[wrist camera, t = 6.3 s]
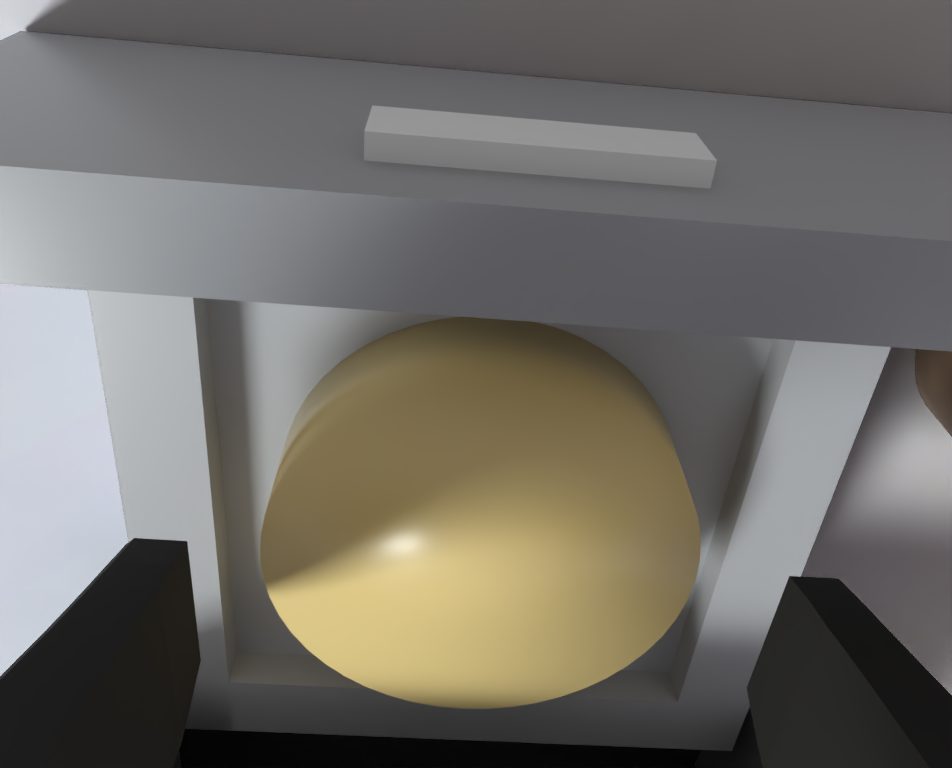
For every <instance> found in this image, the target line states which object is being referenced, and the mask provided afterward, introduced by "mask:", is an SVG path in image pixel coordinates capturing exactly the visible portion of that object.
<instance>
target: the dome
mask: <svg viewBox="0 0 952 768" xmlns="http://www.w3.org/2000/svg"><path fill="white" fill-rule="evenodd" d="M700 550H701V535H700V528H699V520H698V515H697V512H696V509H695V506H694V503H693V500H692V497H691V494H690V491H689V488H688V485H687V482H686V479H685V476H684V473H683V470H682V467H681V464H680V462H679V459H678V456H677V453H676V450H675V447H674V444H673V441H672V438H671V435H670V432H669V429H668V426H667V423H666V421H665V419H664V417H663V415H662V413H661V411H660V409H659V407H658V405H657V403H656V401H655V400H654V398H653V397H652V396H651V394H650V393H649V392H648V390H647V389H646V387H645V386H644V385H643V383H642V382H641V381H640V380H639V379H638V378H637V377H636V376H635V375H634V374H633V373H632V372H631V371H630V370H629V369H628V368H627V367H626V366H625V365H623V364H622V363H621V362H619V361H618V360H617V359H615V358H614V357H613V356H611V355H610V354H609V353H607V352H606V351H605V350H603V349H601V348H599V347H598V346H596V345H594V344H592V343H590V342H589V341H587V340H585V339H583V338H581V337H579V336H576V335H574V334H571V333H569V332H566V331H564V330H561V329H559V328H556V327H552V326H548V325H545V324H541V323H537V322H529V321H515V320H501V319H487V318H473V317H455V318H445V319H439V320H434V321H430V322H425V323H420V324H416V325H412V326H410V327H407V328H404V329H401V330H398V331H395V332H392V333H389V334H387V335H385V336H383V337H381V338H379V339H377V340H375V341H373V342H371V343H369V344H367V345H365V346H363V347H361V348H360V349H358V350H357V351H355V352H354V353H352V354H351V355H349V356H348V357H346V358H345V359H343V360H342V361H341V362H340V363H338V364H337V365H336V366H335V367H334V368H333V369H332V370H331V371H329V372H328V373H327V374H326V375H325V376H324V377H323V378H322V379H321V380H320V381H319V383H318V384H317V385H316V386H315V387H314V388H313V390H312V391H311V392H310V393H309V394H308V396H307V397H306V399H305V400H304V402H303V404H302V405H301V407H300V409H299V410H298V412H297V414H296V415H295V418H294V420H293V423H292V425H291V427H290V430H289V432H288V435H287V438H286V442H285V445H284V449H283V452H282V456H281V459H280V463H279V466H278V470H277V473H276V477H275V480H274V484H273V487H272V491H271V494H270V498H269V502H268V505H267V509H266V512H265V517H264V521H263V526H262V530H261V538H260V560H261V567H262V574H263V579H264V582H265V585H266V588H267V591H268V594H269V597H270V599H271V601H272V603H273V605H274V607H275V609H276V611H277V612H278V614H279V616H280V618H281V619H282V620H283V622H284V623H285V624H286V626H287V627H288V629H289V630H290V631H291V633H292V634H293V635H294V636H295V637H296V638H297V639H298V640H299V641H300V642H301V643H302V644H303V645H304V646H305V648H306V649H307V650H309V651H310V652H311V653H312V654H314V655H315V656H316V657H317V658H319V659H320V660H321V661H322V662H323V663H325V664H326V665H328V666H329V667H331V668H332V669H334V670H336V671H337V672H339V673H340V674H342V675H343V676H345V677H347V678H349V679H351V680H353V681H355V682H357V683H359V684H361V685H363V686H365V687H368V688H370V689H373V690H376V691H378V692H381V693H384V694H386V695H389V696H393V697H396V698H400V699H404V700H407V701H411V702H416V703H421V704H427V705H433V706H439V707H450V708H461V709H491V708H504V707H515V706H521V705H527V704H533V703H538V702H542V701H546V700H550V699H554V698H558V697H562V696H565V695H567V694H570V693H573V692H576V691H579V690H582V689H584V688H587V687H589V686H591V685H593V684H595V683H597V682H600V681H602V680H604V679H606V678H608V677H610V676H611V675H613V674H615V673H616V672H618V671H620V670H621V669H623V668H625V667H626V666H628V665H629V664H631V663H632V662H633V661H635V660H636V659H637V658H639V657H640V656H641V655H643V654H644V653H645V652H646V651H647V650H648V649H650V648H651V647H652V646H653V645H654V644H655V643H656V642H657V641H658V640H659V639H660V638H661V637H662V636H663V635H664V634H665V632H666V631H667V630H668V629H669V627H670V626H671V625H672V624H673V622H674V621H675V620H676V619H677V617H678V615H679V614H680V612H681V610H682V609H683V607H684V605H685V604H686V602H687V600H688V598H689V595H690V593H691V590H692V588H693V585H694V583H695V580H696V576H697V571H698V567H699V562H700Z"/></svg>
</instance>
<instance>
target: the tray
mask: <svg viewBox="0 0 952 768" xmlns="http://www.w3.org/2000/svg"><path fill="white" fill-rule="evenodd" d="M0 284H8V285H22V286H37V287H51V288H65V289H79V290H87V291H88V297H89V303H90V309H91V316H92V322H93V328H94V334H95V340H96V346H97V352H98V358H99V365H100V371H101V377H102V383H103V389H104V395H105V401H106V407H107V414H108V420H109V426H110V432H111V438H112V444H113V450H114V456H115V463H116V469H117V475H118V481H119V487H120V493H121V499H122V505H123V512H124V518H125V524H126V530H127V536H128V542H130V541H131V540H132V539H134V538H143V539H160V540H177V541H187V543H188V552H189V561H190V570H191V578H192V587H193V596H194V605H195V614H196V622H197V631H198V640H199V649H200V657H201V662H200V666H199V671H198V675H197V679H196V684H195V688H194V693H193V697H192V701H191V706H190V710H189V714H188V718H187V722H186V726H185V729H208V730H232V731H257V732H281V733H305V734H330V735H354V736H378V737H403V738H427V739H451V740H476V741H500V742H524V743H549V744H573V745H597V746H622V747H646V748H670V749H695V750H719V751H732V750H733V747H734V745H735V742H736V739H737V737H738V734H739V732H740V729H741V727H742V724H743V722H744V719H745V717H746V714H747V712H748V709H749V707H750V703H749V698H748V693H747V686H748V683H749V680H750V678H751V675H752V672H753V670H754V667H755V665H756V662H757V659H758V657H759V654H760V652H761V649H762V646H763V644H764V641H765V638H766V636H767V633H768V631H769V628H770V625H771V623H772V620H773V618H774V615H775V612H776V610H777V607H778V604H779V602H780V599H781V597H782V594H783V591H784V589H785V586H786V584H787V581H788V578H789V576H798V577H801V575H802V572H803V570H804V567H805V564H806V562H807V559H808V557H809V554H810V552H811V549H812V547H813V544H814V542H815V539H816V537H817V534H818V532H819V529H820V526H821V524H822V521H823V519H824V516H825V514H826V511H827V509H828V506H829V504H830V501H831V499H832V496H833V493H834V491H835V488H836V486H837V483H838V481H839V478H840V476H841V473H842V471H843V468H844V466H845V463H846V461H847V458H848V455H849V453H850V450H851V448H852V445H853V443H854V440H855V438H856V435H857V433H858V430H859V428H860V425H861V422H862V420H863V417H864V415H865V412H866V410H867V407H868V405H869V402H870V400H871V397H872V395H873V392H874V390H875V387H876V384H877V382H878V379H879V377H880V374H881V372H882V369H883V367H884V364H885V362H886V359H887V357H888V354H889V351H890V349H891V347H895V348H909V349H923V350H937V351H951V352H952V113H941V112H930V111H919V110H908V109H896V108H885V107H874V106H862V105H851V104H840V103H828V102H817V101H806V100H795V99H783V98H772V97H761V96H749V95H738V94H727V93H715V92H704V91H693V90H682V89H670V88H659V87H648V86H636V85H625V84H614V83H602V82H591V81H580V80H569V79H557V78H546V77H535V76H523V75H512V74H501V73H490V72H478V71H467V70H456V69H444V68H433V67H422V66H410V65H399V64H388V63H377V62H365V61H354V60H343V59H331V58H320V57H309V56H297V55H286V54H275V53H264V52H252V51H241V50H230V49H218V48H207V47H196V46H184V45H173V44H162V43H151V42H139V41H128V40H117V39H105V38H94V37H83V36H71V35H60V34H49V33H38V32H26V31H20V32H18V33H16V34H13V35H11V36H9V37H7V38H5V39H3V40H1V41H0ZM455 317H473V318H487V319H501V320H515V321H529V322H537V323H541V324H545V325H548V326H552V327H556V328H559V329H561V330H564V331H566V332H569V333H571V334H574V335H576V336H579V337H581V338H583V339H585V340H587V341H589V342H590V343H592V344H594V345H596V346H598V347H599V348H601V349H603V350H605V351H606V352H607V353H609V354H610V355H611V356H613V357H614V358H615V359H617V360H618V361H619V362H621V363H622V364H623V365H625V366H626V367H627V368H628V369H629V370H630V371H631V372H632V373H633V374H634V375H635V376H636V377H637V378H638V379H639V380H640V381H641V382H642V383H643V385H644V386H645V387H646V389H647V390H648V392H649V393H650V394H651V396H652V397H653V398H654V400H655V401H656V403H657V405H658V407H659V409H660V411H661V413H662V415H663V417H664V419H665V421H666V423H667V426H668V429H669V432H670V435H671V438H672V441H673V444H674V447H675V450H676V453H677V456H678V459H679V462H680V464H681V467H682V470H683V473H684V476H685V479H686V482H687V485H688V488H689V491H690V494H691V497H692V500H693V503H694V506H695V509H696V512H697V515H698V520H699V528H700V535H701V550H700V562H699V567H698V571H697V576H696V580H695V583H694V585H693V588H692V590H691V593H690V595H689V598H688V600H687V602H686V604H685V605H684V607H683V609H682V610H681V612H680V614H679V615H678V617H677V619H676V620H675V621H674V622H673V624H672V625H671V626H670V627H669V629H668V630H667V631H666V632H665V634H664V635H663V636H662V637H661V638H660V639H659V640H658V641H657V642H656V643H655V644H654V645H653V646H652V647H651V648H650V649H648V650H647V651H646V652H645V653H644V654H643V655H641V656H640V657H639V658H637V659H636V660H635V661H633V662H632V663H631V664H629V665H628V666H626V667H625V668H623V669H621V670H620V671H618V672H616V673H615V674H613V675H611V676H610V677H608V678H606V679H604V680H602V681H600V682H597V683H595V684H593V685H591V686H589V687H587V688H584V689H582V690H579V691H576V692H573V693H570V694H567V695H565V696H562V697H558V698H554V699H550V700H546V701H542V702H538V703H533V704H527V705H521V706H515V707H504V708H491V709H461V708H450V707H439V706H433V705H427V704H421V703H416V702H411V701H407V700H404V699H400V698H396V697H393V696H389V695H386V694H384V693H381V692H378V691H376V690H373V689H370V688H368V687H365V686H363V685H361V684H359V683H357V682H355V681H353V680H351V679H349V678H347V677H345V676H343V675H342V674H340V673H339V672H337V671H336V670H334V669H332V668H331V667H329V666H328V665H326V664H325V663H323V662H322V661H321V660H320V659H319V658H317V657H316V656H315V655H314V654H312V653H311V652H310V651H309V650H307V649H306V648H305V646H304V645H303V644H302V643H301V642H300V641H299V640H298V639H297V638H296V637H295V636H294V635H293V634H292V633H291V631H290V630H289V629H288V627H287V626H286V624H285V623H284V622H283V620H282V619H281V618H280V616H279V614H278V612H277V611H276V609H275V607H274V605H273V603H272V601H271V599H270V597H269V594H268V591H267V588H266V585H265V582H264V579H263V574H262V567H261V560H260V538H261V530H262V526H263V521H264V517H265V512H266V509H267V505H268V502H269V498H270V494H271V491H272V487H273V484H274V480H275V477H276V473H277V470H278V466H279V463H280V459H281V456H282V452H283V449H284V445H285V442H286V438H287V435H288V432H289V430H290V427H291V425H292V423H293V420H294V418H295V415H296V414H297V412H298V410H299V409H300V407H301V405H302V404H303V402H304V400H305V399H306V397H307V396H308V394H309V393H310V392H311V391H312V390H313V388H314V387H315V386H316V385H317V384H318V383H319V381H320V380H321V379H322V378H323V377H324V376H325V375H326V374H327V373H328V372H329V371H331V370H332V369H333V368H334V367H335V366H336V365H337V364H338V363H340V362H341V361H342V360H343V359H345V358H346V357H348V356H349V355H351V354H352V353H354V352H355V351H357V350H358V349H360V348H361V347H363V346H365V345H367V344H369V343H371V342H373V341H375V340H377V339H379V338H381V337H383V336H385V335H387V334H389V333H392V332H395V331H398V330H401V329H404V328H407V327H410V326H412V325H416V324H420V323H425V322H430V321H434V320H439V319H445V318H455Z"/></svg>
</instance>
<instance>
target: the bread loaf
mask: <svg viewBox="0 0 952 768" xmlns="http://www.w3.org/2000/svg"><path fill="white" fill-rule="evenodd" d="M915 375H916V382H917V386H918V389H919V392H920V395H921V397H922V399H923V400H924V402H925V404H926V406H927V407H928V408H929V409H930V411H931V412H932V413H933V414H934V415H935V417H936V418H937V419H938V420H939V422H940V423H941V424H942V425H943V427H944V428H945V429H946V430H947V432H948V433H949V434H950V435H951V436H952V352H951V351H937V350H923V349H917V351H916V356H915Z"/></svg>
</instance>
